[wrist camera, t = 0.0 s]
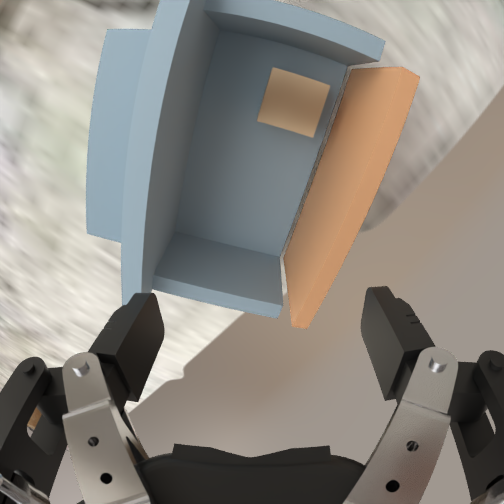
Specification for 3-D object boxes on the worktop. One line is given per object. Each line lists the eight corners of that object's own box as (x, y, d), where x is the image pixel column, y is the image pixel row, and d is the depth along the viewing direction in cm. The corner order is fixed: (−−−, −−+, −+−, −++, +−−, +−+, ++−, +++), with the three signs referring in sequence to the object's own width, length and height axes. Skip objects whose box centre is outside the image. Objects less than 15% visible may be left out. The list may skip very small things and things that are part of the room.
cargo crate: (271, 70, 20) (272, 67, 16) (319, 85, 20) (330, 85, 17) (257, 115, 22) (256, 121, 18) (305, 129, 22) (313, 137, 19)
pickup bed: (175, 4, 20) (99, -49, 7) (340, 40, 22) (414, 8, 9) (134, 219, 34) (71, 307, 20) (268, 252, 36) (270, 360, 22)
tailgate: (351, 69, 19) (402, 66, 11) (371, 77, 19) (428, 82, 11) (283, 257, 29) (292, 326, 21) (300, 261, 29) (314, 330, 21)
